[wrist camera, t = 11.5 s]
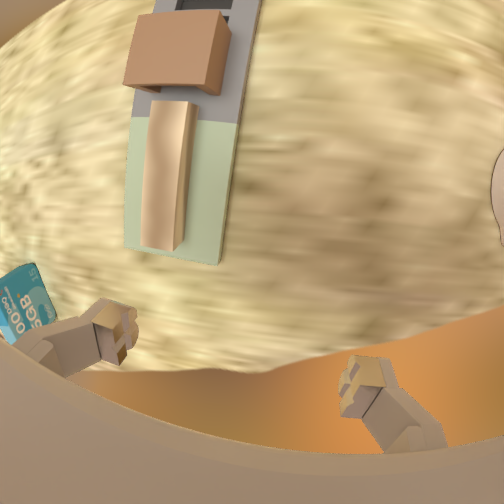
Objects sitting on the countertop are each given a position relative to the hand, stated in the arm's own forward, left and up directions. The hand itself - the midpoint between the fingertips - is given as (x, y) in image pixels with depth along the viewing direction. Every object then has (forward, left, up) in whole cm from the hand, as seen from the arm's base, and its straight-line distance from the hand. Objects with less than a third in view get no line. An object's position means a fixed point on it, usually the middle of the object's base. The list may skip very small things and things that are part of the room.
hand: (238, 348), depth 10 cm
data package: (+40, +23, -26) cm, 53 cm away
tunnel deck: (+11, -9, -26) cm, 29 cm away
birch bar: (+11, -2, -24) cm, 26 cm away
